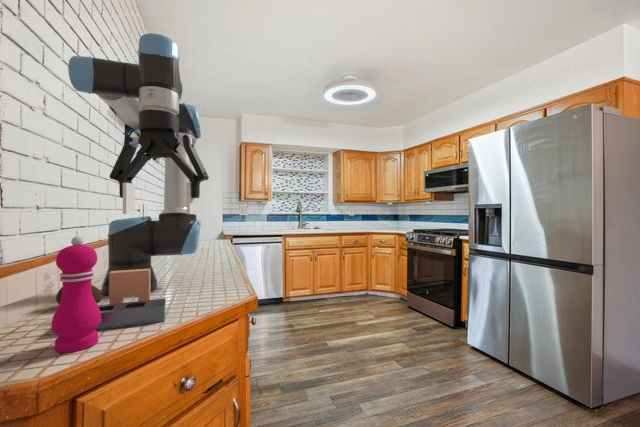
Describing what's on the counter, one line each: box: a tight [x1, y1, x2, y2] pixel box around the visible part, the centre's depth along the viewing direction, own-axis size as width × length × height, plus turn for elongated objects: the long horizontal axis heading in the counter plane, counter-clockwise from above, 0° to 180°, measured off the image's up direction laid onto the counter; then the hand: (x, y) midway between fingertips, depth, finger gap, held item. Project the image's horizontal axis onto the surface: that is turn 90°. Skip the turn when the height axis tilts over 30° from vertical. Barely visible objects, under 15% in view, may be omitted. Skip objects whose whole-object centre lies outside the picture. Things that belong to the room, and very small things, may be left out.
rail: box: [95, 297, 166, 331], centre depth 69 cm, size 7×18×4 cm, turn 115°
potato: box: [55, 284, 103, 305], centre depth 81 cm, size 7×10×7 cm
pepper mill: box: [50, 236, 101, 354], centre depth 57 cm, size 7×7×20 cm
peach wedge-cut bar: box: [108, 269, 151, 304], centre depth 77 cm, size 3×8×10 cm, turn 115°
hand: (159, 214), depth 66 cm, fingers open, 13 cm apart
